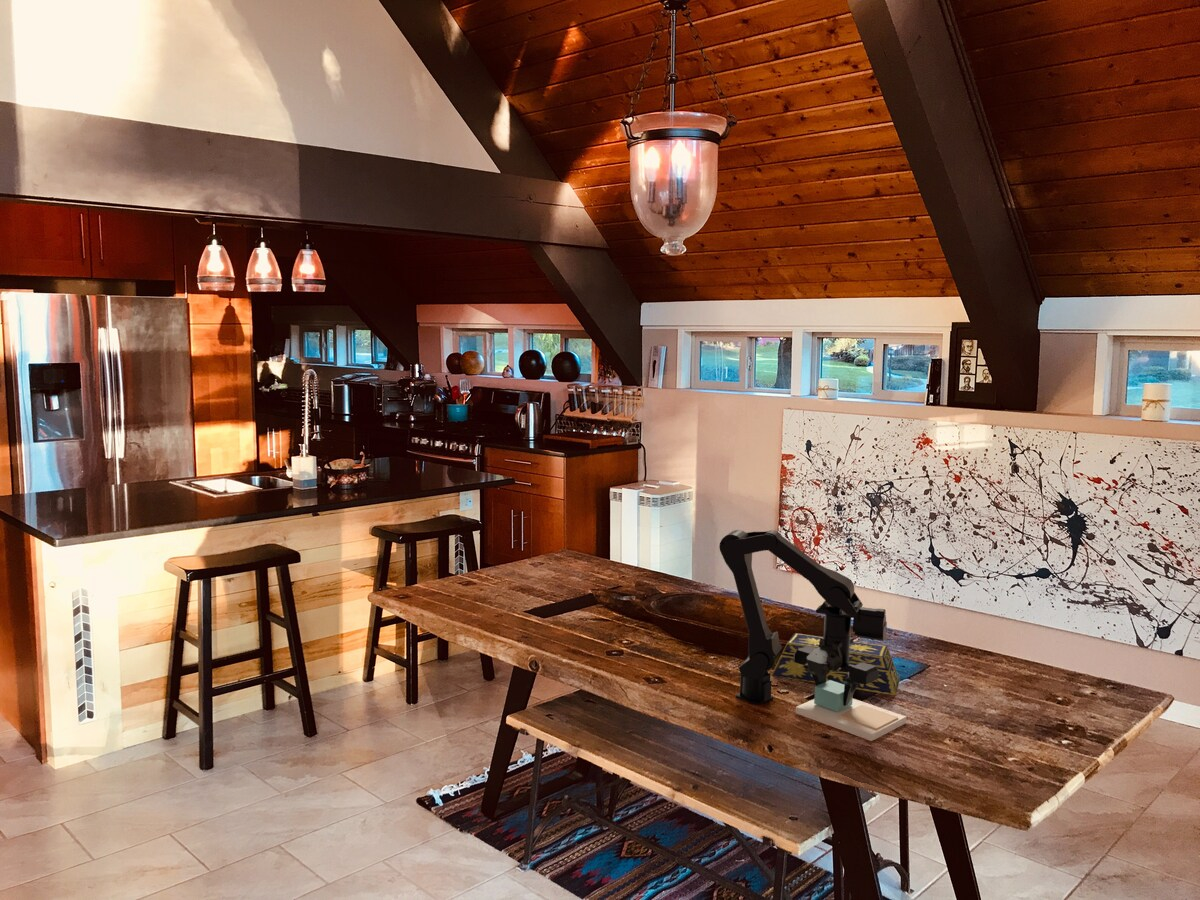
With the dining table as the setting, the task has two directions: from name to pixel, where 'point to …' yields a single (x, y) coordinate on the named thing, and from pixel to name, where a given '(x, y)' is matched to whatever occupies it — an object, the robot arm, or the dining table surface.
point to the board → (855, 718)
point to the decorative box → (859, 653)
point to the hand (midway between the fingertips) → (833, 701)
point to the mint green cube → (831, 695)
